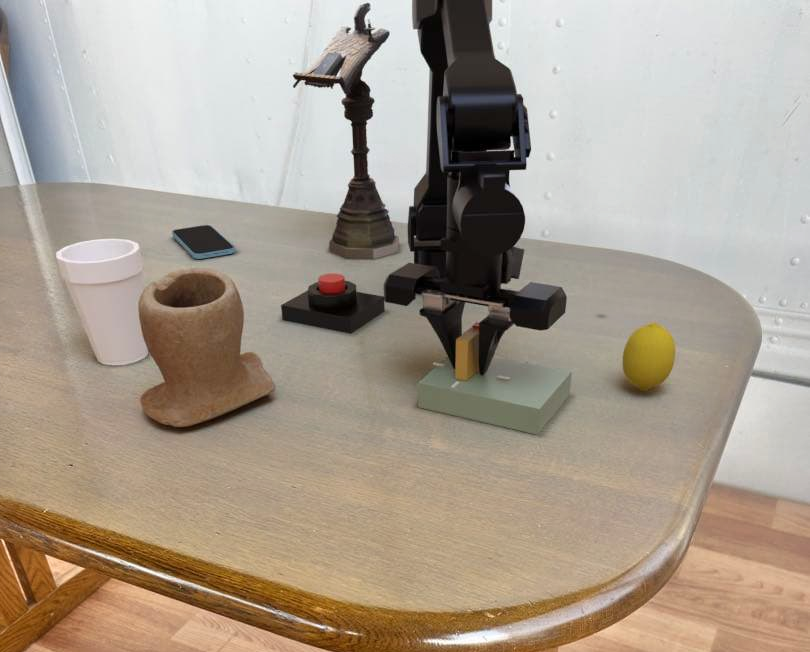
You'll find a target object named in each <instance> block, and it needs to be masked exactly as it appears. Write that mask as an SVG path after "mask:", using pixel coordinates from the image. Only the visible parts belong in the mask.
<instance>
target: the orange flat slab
mask: <svg viewBox="0 0 810 652" xmlns="http://www.w3.org/2000/svg"><path fill="white" fill-rule="evenodd" d="M478 361H479V322H478V321H477V322H474V323H473V324H472V326H471V327H470V328H468V329H467V330H465V332H463V333H462V335H461V336H460V337H459V338H457V339H456V364H455V379H460V380H464V381H467V380H468V379H469V378H470V377H471V376H473V375H474V374H475V373H476V372H477V371H478V370H479V364H478Z"/></svg>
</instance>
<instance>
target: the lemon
mask: <svg viewBox="0 0 810 652" xmlns="http://www.w3.org/2000/svg"><path fill="white" fill-rule="evenodd" d="M675 359H676V344H675V340H674V338H673V335H672V334H671V332H670V331H668V329H666V328H665V327H663V326H661V325H659V323H658V322H656V321H652V322H650V323H649V324H645V325H642V326H640V327H638V328H637V329H635V330H634V331H633V332H632V333H631V334H630V336H629V338H628V339H627V340H626V343H625V346H624V349H623V352H622V363H621V365H622V371H623V373H624V376H625V378H626V379H627V381H628V382H630V384H632V385H633V386H635V387H637V388H638V389H639V391H641V392H646V391H647V390H650V389H652V388H656V387H658V386H659V385H661V384H662V383H664V382H665V381H666V380H667V378H668V377H669V376H670V374H671V373H672V371H673V368H674V364H675Z"/></svg>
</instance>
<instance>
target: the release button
mask: <svg viewBox="0 0 810 652" xmlns="http://www.w3.org/2000/svg"><path fill="white" fill-rule="evenodd" d="M345 281H346V277H345V275H344V274H341V273H333V272H332V273H325V274H321V275H320V276H318V278H317V282H318V285H319V292H323V293H338V292H343V291H344V290H345Z"/></svg>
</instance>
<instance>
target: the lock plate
mask: <svg viewBox="0 0 810 652" xmlns="http://www.w3.org/2000/svg"><path fill="white" fill-rule="evenodd" d="M432 365H434V366H435V367H434V368H433V369H432V370H430V371H429V372H428V373H427V374H425V376H423V377H422V378H421V379H420V380H418V382H417V407H418V408H420V409H425V410H428V411H432V412H437V413H442V414H446V415H451V416H455V417H459V418H463V419H467V420H472V421H475V422H481V423H484V424H490V425H494V426H498V427H501V428H502V427H503V428H506V429H511V430H515V431H519V432H523V433H527V434H531V435H536V436H538V435H539V433H540V432H541V431H542V430H543V429H544V427H545V426H546V425H547V424H548V422H549V421H550V420H551V419H552V418H553V416H554V415H555V414H556V413H557V411H559V409H560V408H561V407H562V406H563V404H564V403H565V402H566V400H567V399H568V398H570V393H571V392H570V391H571V383H572V374H573V372H572V371H571V370H565V369H561V368H555V367H550V366H545V365H541V364H535V363H529V362H525V361H520V360H515V359H511V358H505V357H500V356H495V355H494V356H493V358H492V361H491V363H490V365H489V368H488V370H487V372H486V373H485V374H484V375H480V372H479V370H478V371H477V372H476V373H475V374H474V375H473V376H471V377H470V378H469V379H468V380H467V381H464V380H460V379H455V369H454V368H453V366H452V364H451V362H450V360H449V358H448V356H447V357H446V358H445V359H443V361H441V362H435V361H433V363H432Z"/></svg>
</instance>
